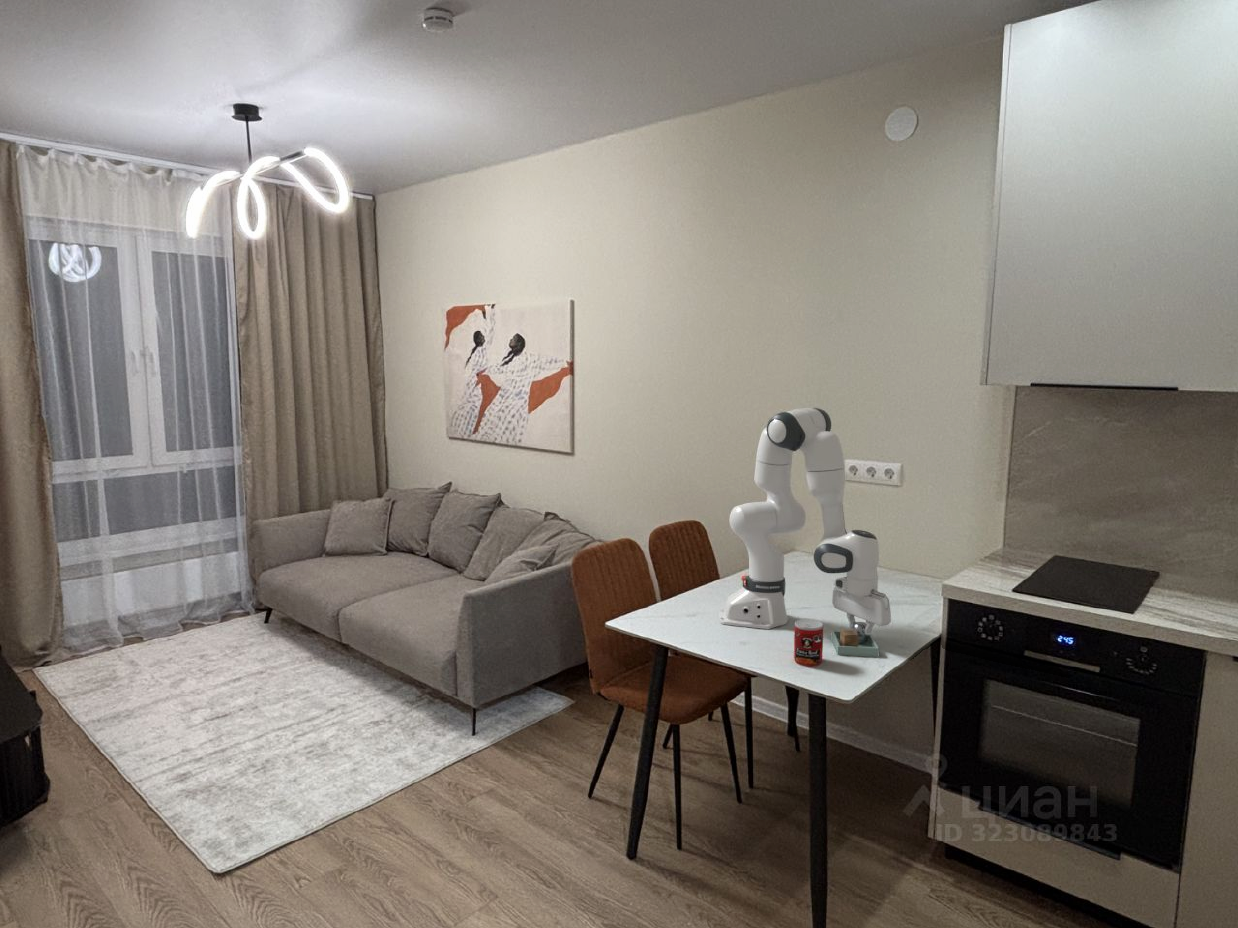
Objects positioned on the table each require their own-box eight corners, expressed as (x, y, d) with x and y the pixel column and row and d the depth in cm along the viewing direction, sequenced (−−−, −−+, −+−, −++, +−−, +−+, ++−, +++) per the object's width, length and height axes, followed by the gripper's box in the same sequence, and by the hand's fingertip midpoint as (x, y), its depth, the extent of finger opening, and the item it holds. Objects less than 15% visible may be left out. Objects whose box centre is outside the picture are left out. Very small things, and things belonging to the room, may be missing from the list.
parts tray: (837, 654, 215) (837, 646, 214) (831, 638, 228) (831, 630, 227) (878, 656, 213) (878, 648, 213) (869, 640, 226) (870, 632, 226)
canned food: (792, 664, 208) (792, 626, 206) (796, 654, 215) (796, 617, 214) (820, 668, 205) (821, 629, 204) (823, 658, 213) (824, 620, 211)
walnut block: (844, 651, 216) (844, 634, 215) (839, 646, 220) (840, 630, 219) (857, 651, 216) (858, 634, 215) (853, 646, 220) (854, 629, 219)
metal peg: (857, 643, 220) (857, 626, 219) (851, 638, 224) (850, 622, 223) (870, 641, 221) (870, 625, 220) (863, 637, 225) (863, 621, 224)
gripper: (897, 593, 212) (895, 640, 214) (845, 576, 231) (843, 619, 232) (880, 596, 210) (878, 644, 211) (829, 578, 228) (828, 622, 229)
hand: (860, 631), depth 222 cm, fingers closed on metal peg, 4 cm apart
